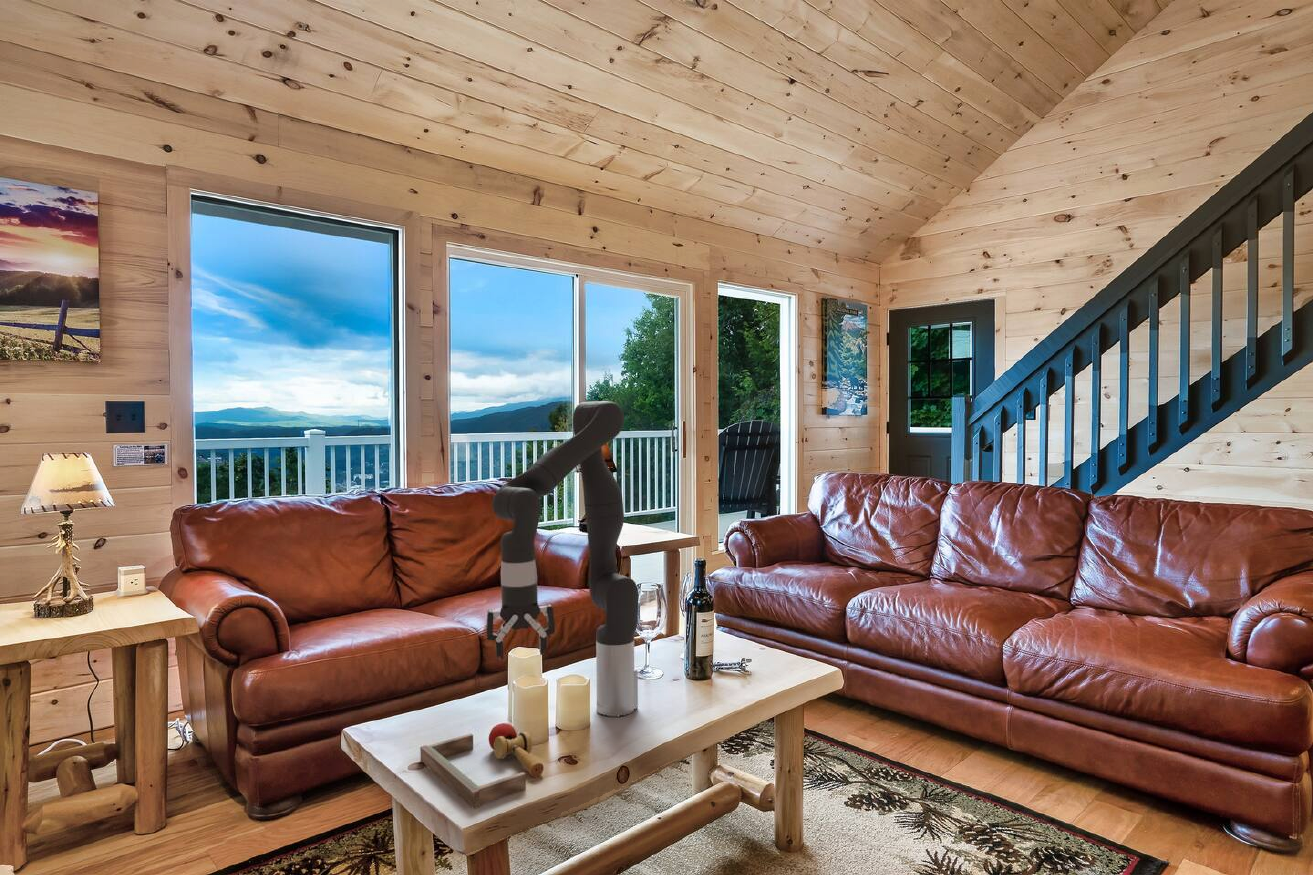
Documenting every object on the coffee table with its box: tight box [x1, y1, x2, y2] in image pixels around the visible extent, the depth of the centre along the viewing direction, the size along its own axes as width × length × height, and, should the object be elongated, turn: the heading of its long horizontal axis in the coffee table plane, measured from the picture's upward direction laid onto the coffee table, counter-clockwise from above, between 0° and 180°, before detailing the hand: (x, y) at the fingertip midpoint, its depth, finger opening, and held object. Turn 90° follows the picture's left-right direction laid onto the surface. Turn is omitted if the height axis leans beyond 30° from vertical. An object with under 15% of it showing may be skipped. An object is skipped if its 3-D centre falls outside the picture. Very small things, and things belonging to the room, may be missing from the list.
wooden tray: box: [419, 733, 527, 809], centre depth 158 cm, size 11×25×3 cm, turn 39°
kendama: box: [488, 722, 545, 778], centre depth 164 cm, size 8×6×18 cm
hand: (521, 655), depth 168 cm, fingers open, 8 cm apart
